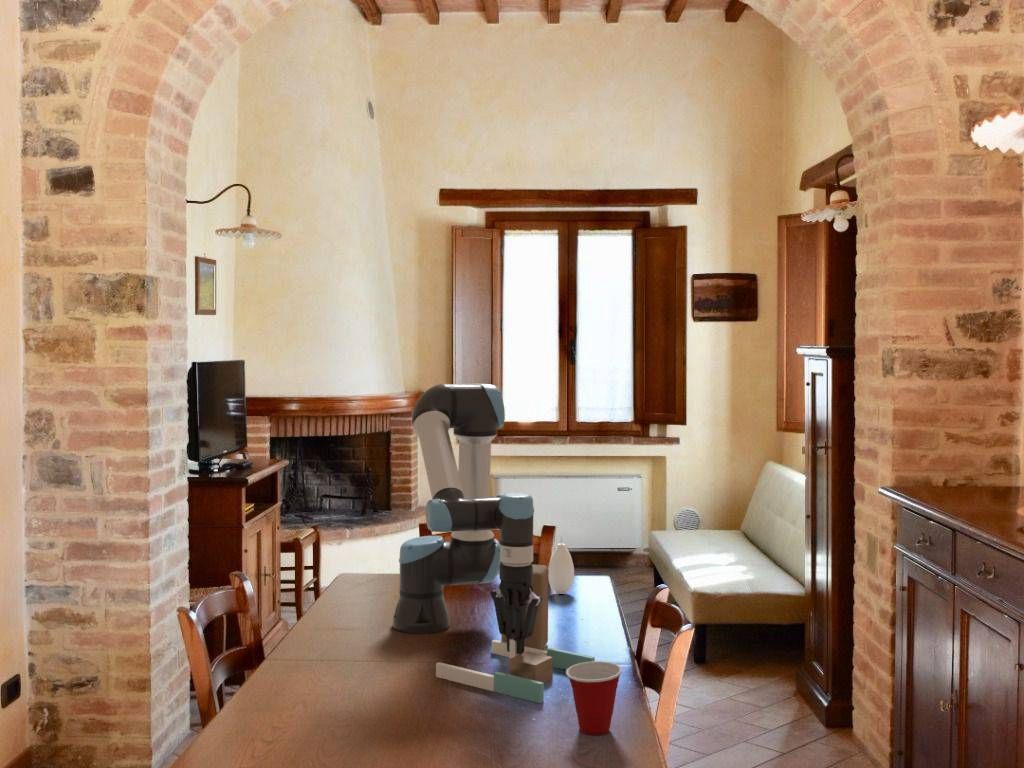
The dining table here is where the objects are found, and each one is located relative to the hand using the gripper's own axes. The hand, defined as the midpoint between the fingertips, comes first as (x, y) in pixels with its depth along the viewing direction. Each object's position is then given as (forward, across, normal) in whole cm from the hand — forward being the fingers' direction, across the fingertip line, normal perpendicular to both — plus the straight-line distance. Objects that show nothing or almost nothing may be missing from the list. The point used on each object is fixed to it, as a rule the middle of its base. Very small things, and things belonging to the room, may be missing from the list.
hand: (515, 666), depth 217 cm
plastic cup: (+2, +30, -17) cm, 34 cm away
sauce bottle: (+2, -31, +69) cm, 76 cm away
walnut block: (+2, +4, 0) cm, 5 cm away
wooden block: (+2, -10, +18) cm, 21 cm away
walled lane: (+2, -1, 0) cm, 2 cm away
